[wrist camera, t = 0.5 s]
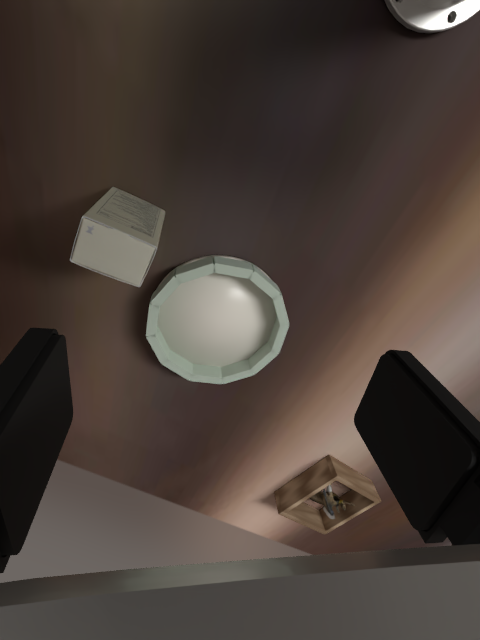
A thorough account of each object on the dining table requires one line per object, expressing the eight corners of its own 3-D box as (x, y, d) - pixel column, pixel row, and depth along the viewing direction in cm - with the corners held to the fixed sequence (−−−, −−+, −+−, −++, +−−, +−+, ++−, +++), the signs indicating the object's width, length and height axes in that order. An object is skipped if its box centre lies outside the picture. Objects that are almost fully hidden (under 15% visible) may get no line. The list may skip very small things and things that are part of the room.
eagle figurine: (354, 483, 69) (325, 479, 64) (355, 523, 66) (326, 522, 61) (324, 480, 75) (296, 477, 70) (325, 517, 71) (296, 516, 67)
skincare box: (101, 221, 38) (63, 261, 27) (112, 184, 36) (77, 212, 25) (155, 245, 40) (140, 290, 29) (169, 211, 38) (158, 247, 27)
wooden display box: (329, 454, 65) (337, 475, 61) (371, 480, 71) (381, 501, 67) (274, 492, 69) (278, 514, 66) (318, 513, 76) (324, 534, 72)
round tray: (210, 224, 39) (211, 233, 36) (307, 310, 47) (314, 322, 44) (123, 324, 45) (118, 338, 42) (222, 385, 52) (223, 401, 50)
